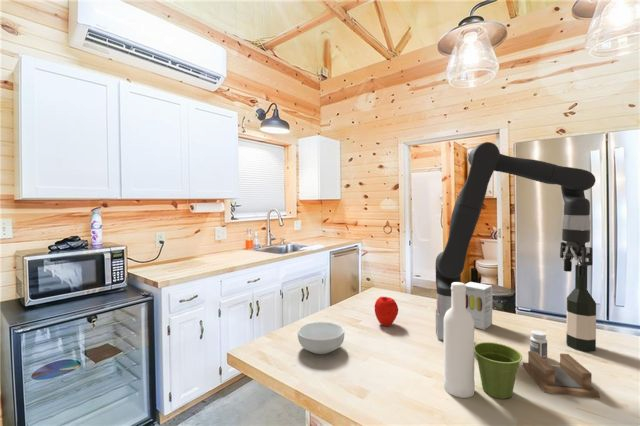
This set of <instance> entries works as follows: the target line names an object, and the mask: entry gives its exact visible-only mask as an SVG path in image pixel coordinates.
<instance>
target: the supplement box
mask: <svg viewBox="0 0 640 426" xmlns="http://www.w3.org/2000/svg"><path fill="white" fill-rule="evenodd" d="M464 284H465V285H466V310H467V311H468V312H469V313H470V314H471V315H472V318H473V321H474V329H480V330H483V331H485V330H486V329H488V328H489V327H490V326H492V324H493V285H491V284H484V283H480V282H473V281H469V282H467V283H464Z"/></svg>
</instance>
